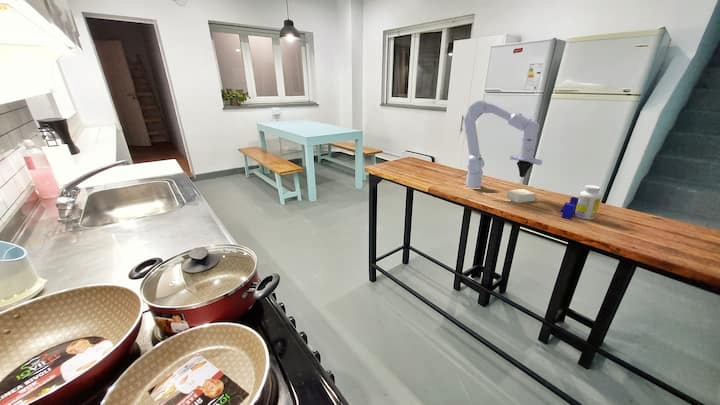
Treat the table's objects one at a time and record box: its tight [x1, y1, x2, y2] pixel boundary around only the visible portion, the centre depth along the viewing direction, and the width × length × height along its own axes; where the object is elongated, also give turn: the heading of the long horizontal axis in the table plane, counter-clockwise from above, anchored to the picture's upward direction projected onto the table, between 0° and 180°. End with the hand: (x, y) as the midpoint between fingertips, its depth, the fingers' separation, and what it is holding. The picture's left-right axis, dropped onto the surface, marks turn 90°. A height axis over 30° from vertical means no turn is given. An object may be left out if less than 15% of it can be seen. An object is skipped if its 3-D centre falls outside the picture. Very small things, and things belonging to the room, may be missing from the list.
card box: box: [506, 188, 536, 203], centre depth 131 cm, size 4×9×7 cm
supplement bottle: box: [574, 184, 602, 221], centre depth 111 cm, size 7×7×13 cm
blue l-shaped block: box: [560, 196, 579, 221], centre depth 115 cm, size 12×4×6 cm, turn 134°
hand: (522, 176), depth 135 cm, fingers closed
